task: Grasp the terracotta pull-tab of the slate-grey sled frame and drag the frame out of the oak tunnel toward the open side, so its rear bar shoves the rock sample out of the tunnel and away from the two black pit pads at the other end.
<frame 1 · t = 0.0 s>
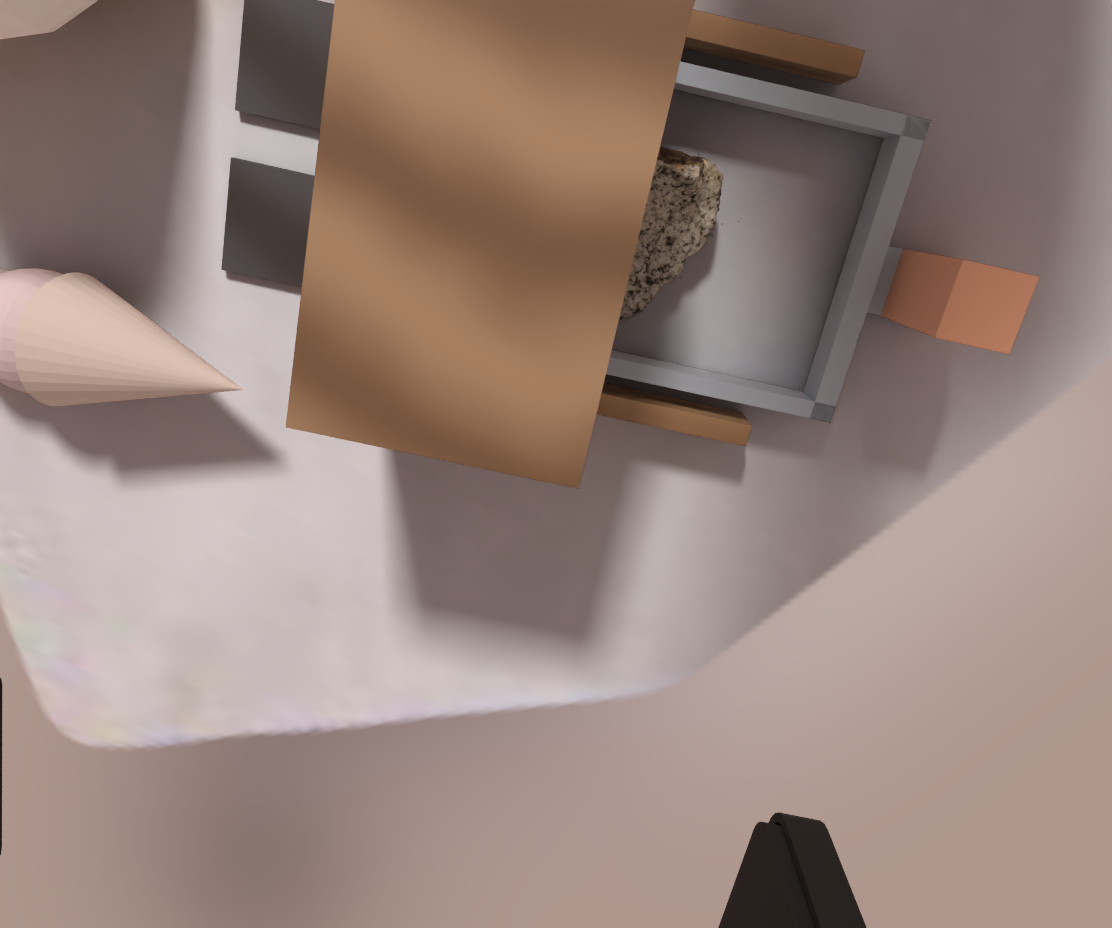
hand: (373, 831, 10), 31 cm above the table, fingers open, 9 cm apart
track: (510, 196, 38), on the table
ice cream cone: (127, 330, 40), on the table
rock sample: (616, 222, 38), on the table
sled: (705, 242, 34), point 4 cm above the table, slide at 0.0 cm
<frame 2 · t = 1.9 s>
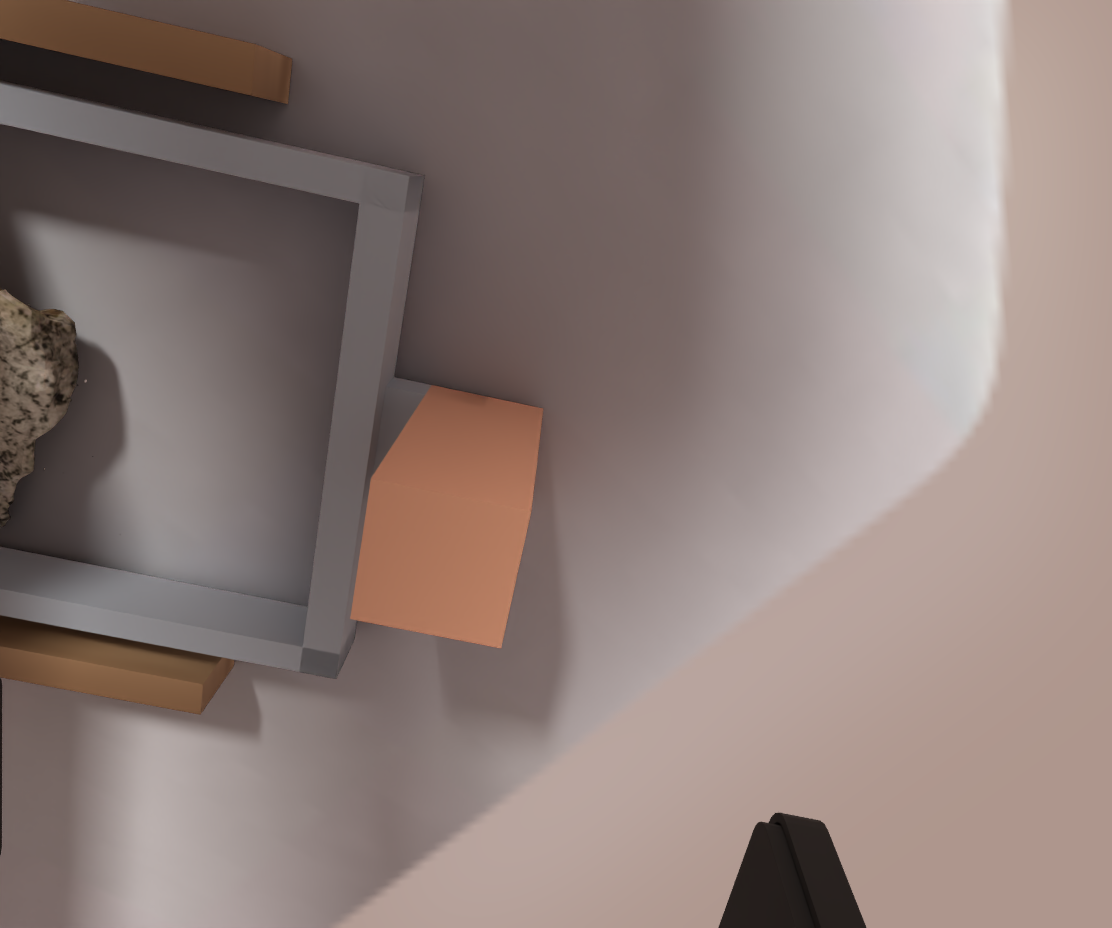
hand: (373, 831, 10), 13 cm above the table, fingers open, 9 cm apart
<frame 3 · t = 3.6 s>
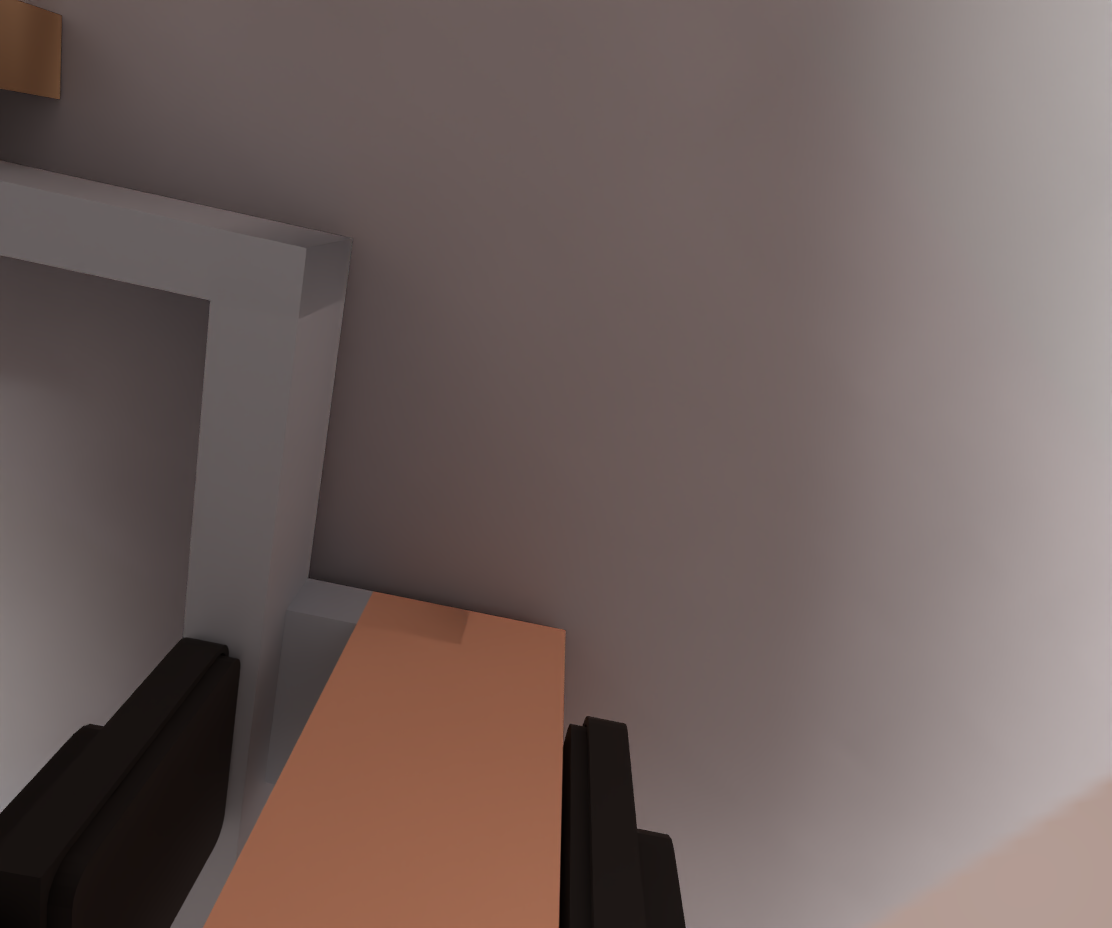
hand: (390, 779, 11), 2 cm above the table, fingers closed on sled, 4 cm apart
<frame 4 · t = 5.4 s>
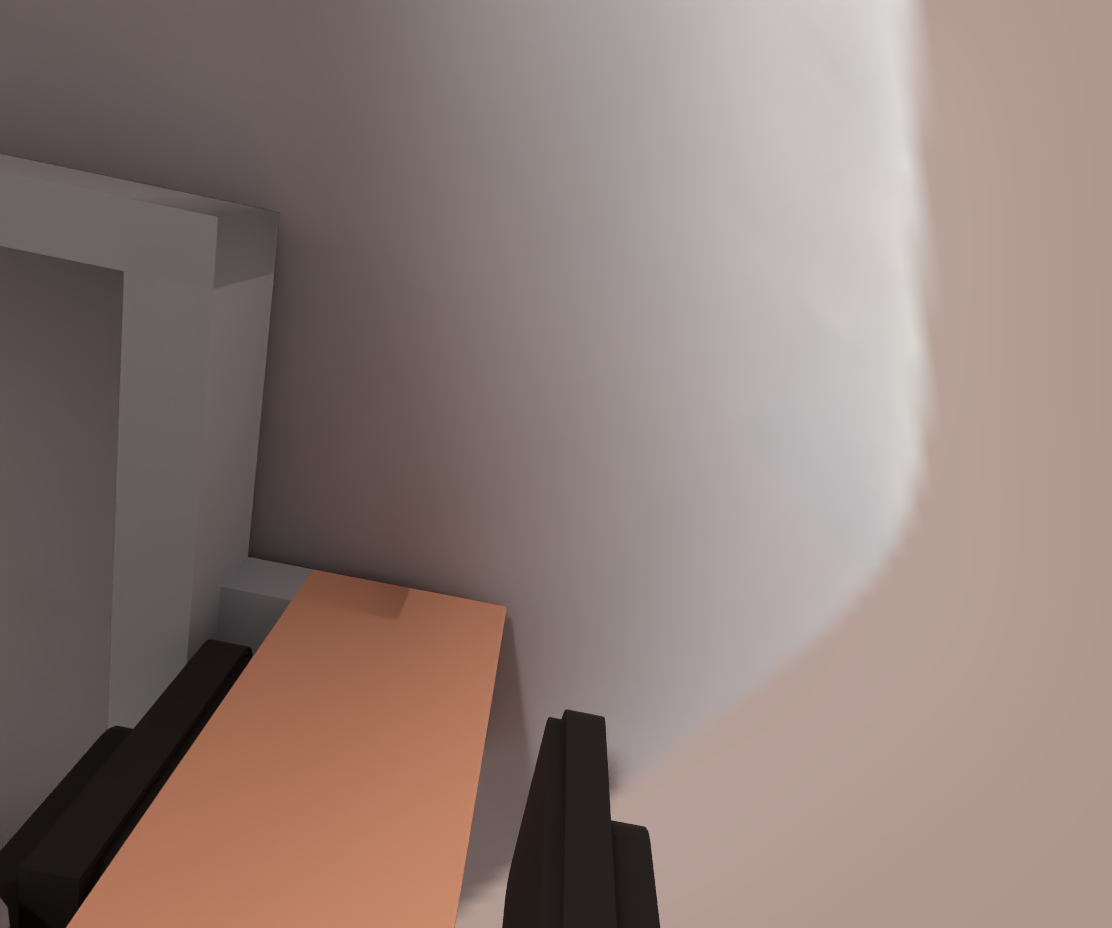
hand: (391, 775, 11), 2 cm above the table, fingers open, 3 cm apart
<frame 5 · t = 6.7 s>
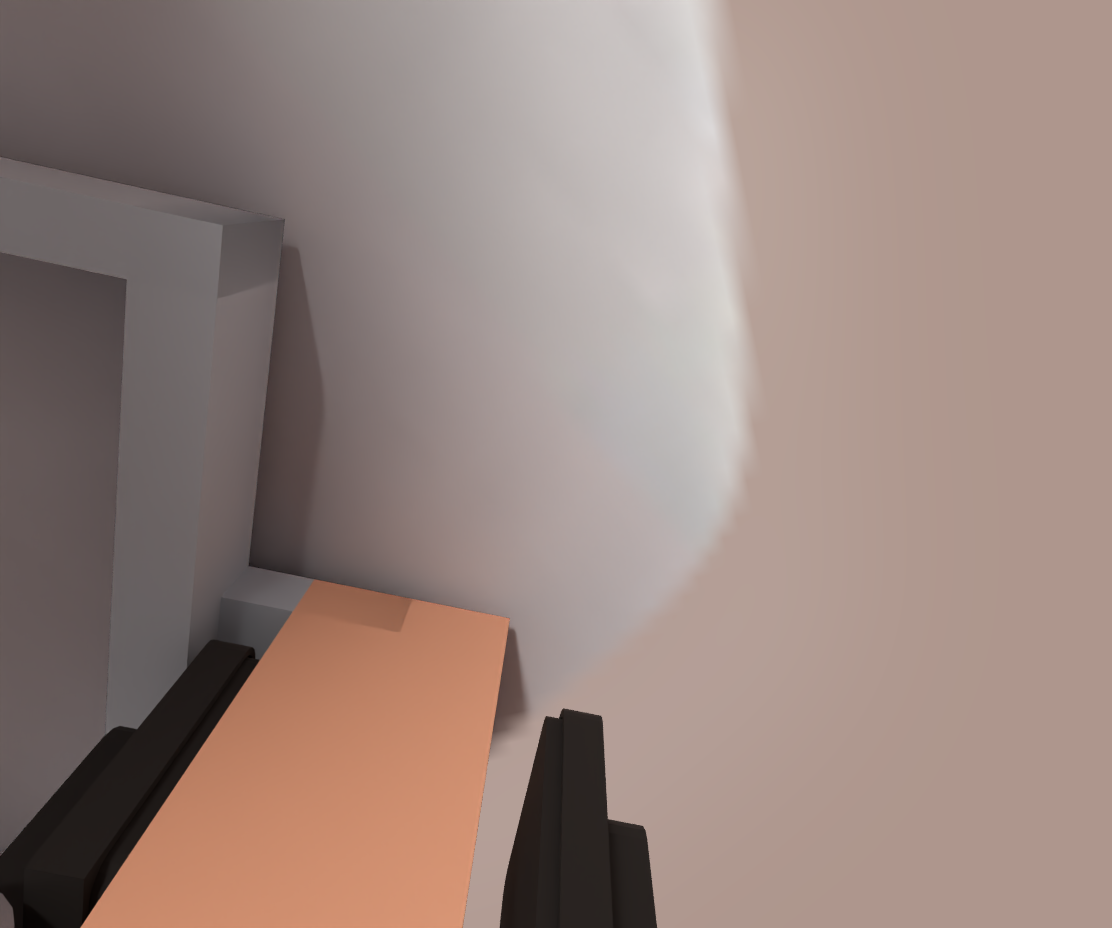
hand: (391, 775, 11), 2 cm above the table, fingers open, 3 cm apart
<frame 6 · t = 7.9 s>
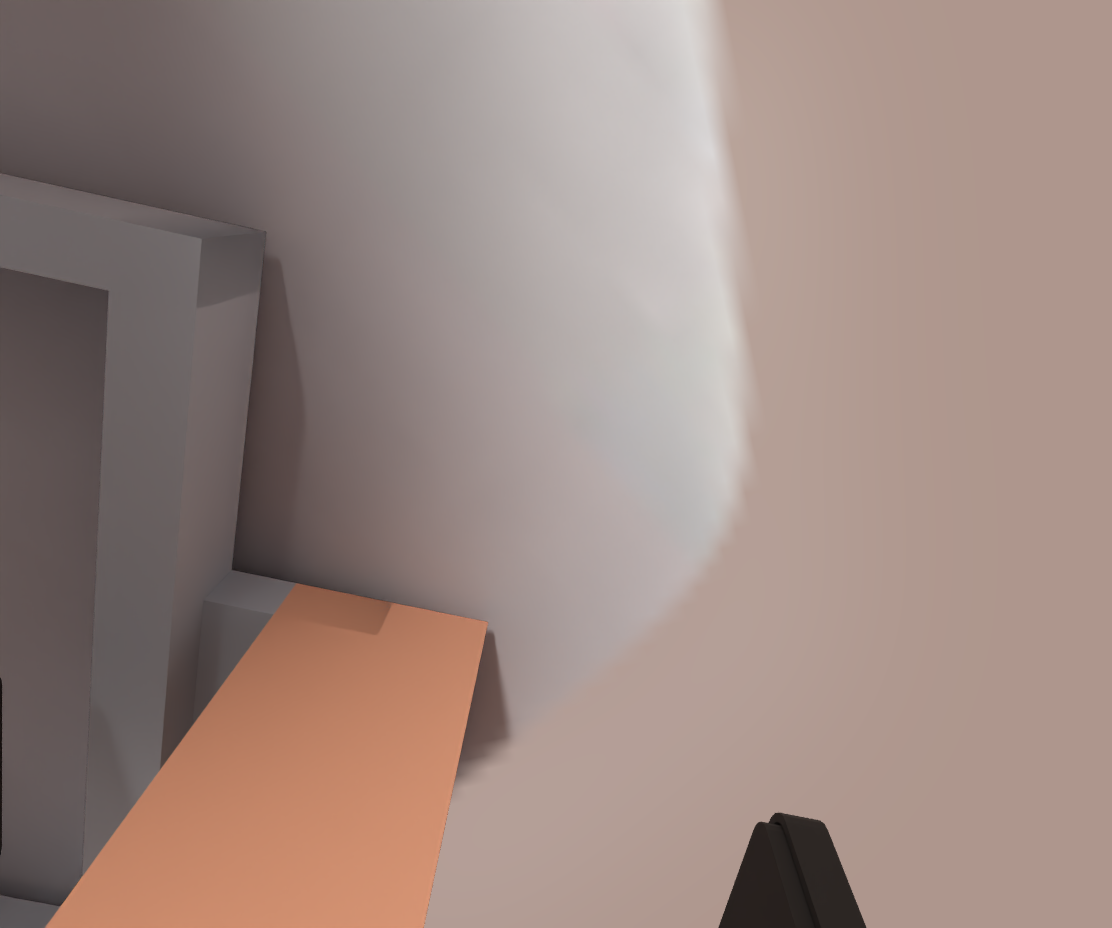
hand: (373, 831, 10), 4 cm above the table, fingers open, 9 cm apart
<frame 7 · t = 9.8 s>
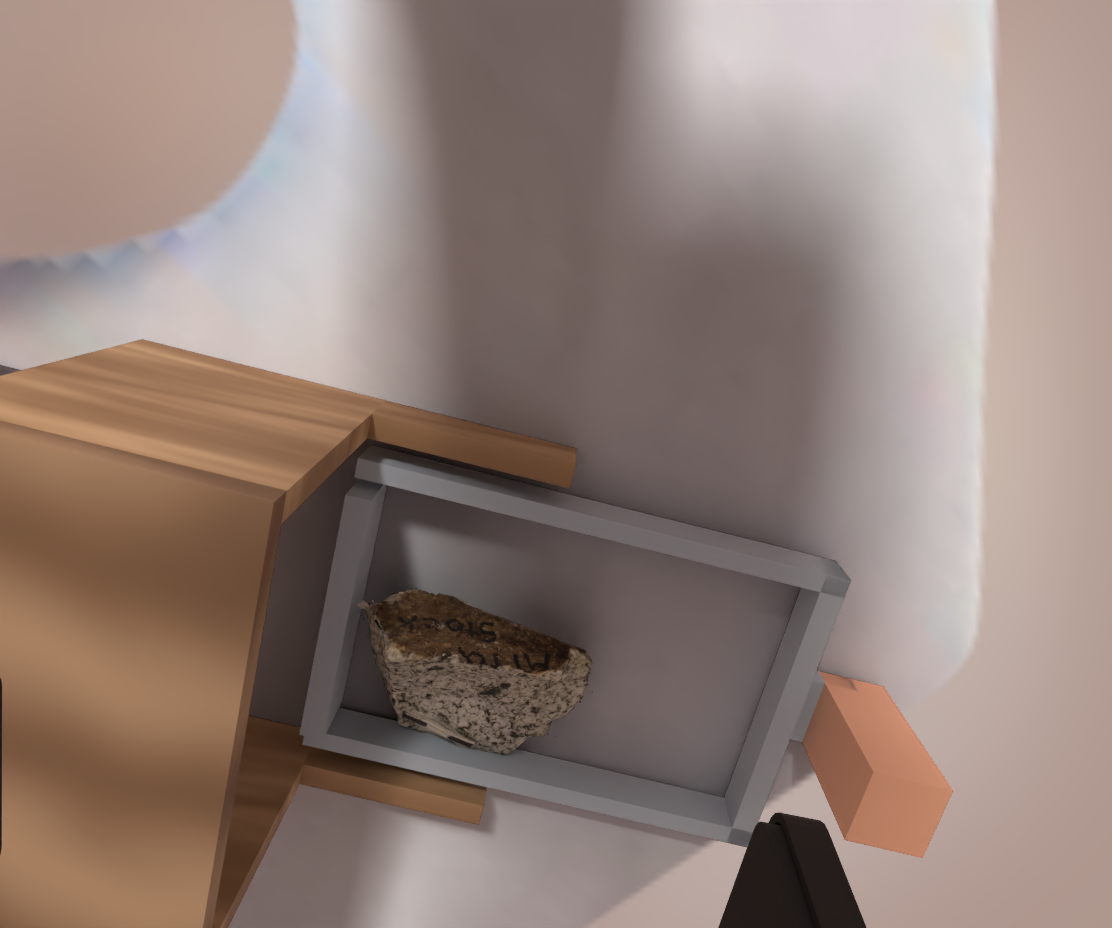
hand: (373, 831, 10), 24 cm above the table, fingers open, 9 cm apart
track: (235, 559, 36), on the table
rock sample: (490, 659, 37), on the table, touching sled
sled: (614, 696, 33), point 4 cm above the table, slide at 8.3 cm, touching rock sample
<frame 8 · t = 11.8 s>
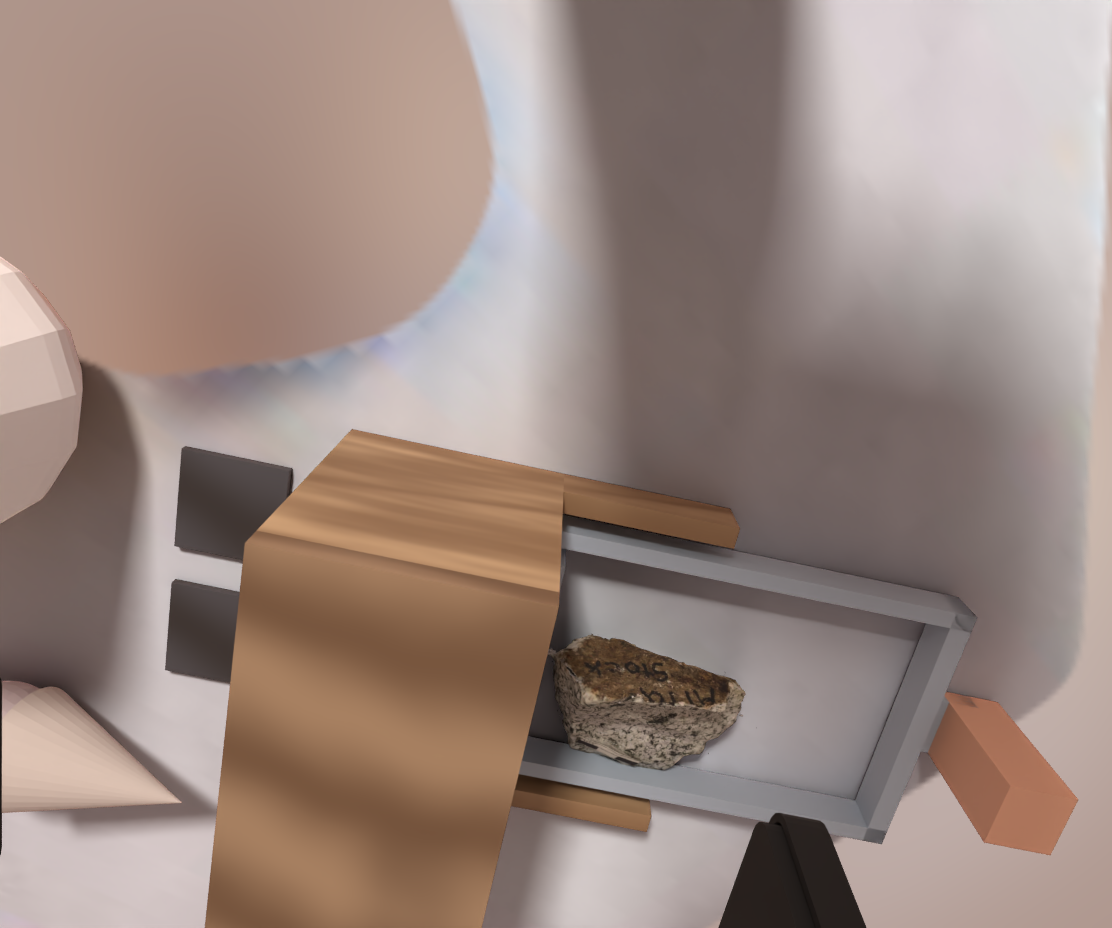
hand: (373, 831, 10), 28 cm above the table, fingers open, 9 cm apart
track: (428, 611, 41), on the table
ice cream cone: (81, 710, 44), on the table
rock sample: (646, 688, 42), on the table
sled: (773, 723, 38), point 4 cm above the table, slide at 8.3 cm
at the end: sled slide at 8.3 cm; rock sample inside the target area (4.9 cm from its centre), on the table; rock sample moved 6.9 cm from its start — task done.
